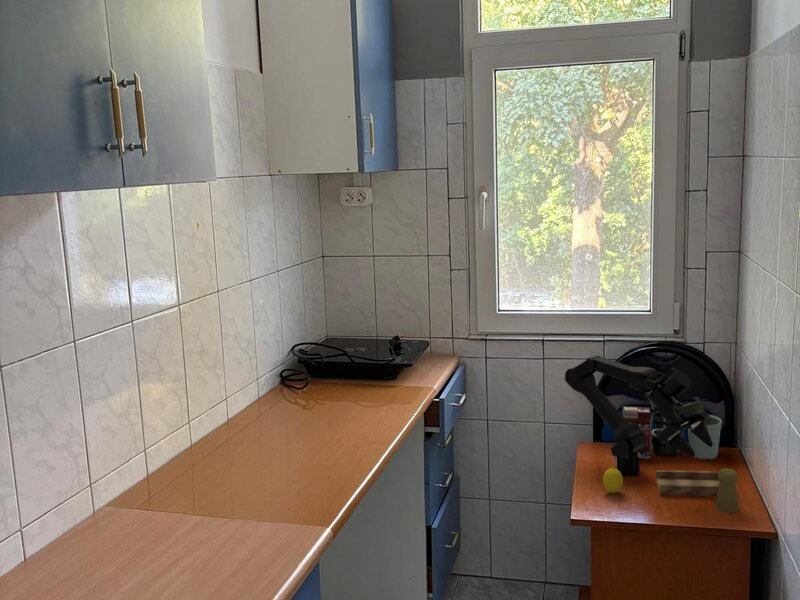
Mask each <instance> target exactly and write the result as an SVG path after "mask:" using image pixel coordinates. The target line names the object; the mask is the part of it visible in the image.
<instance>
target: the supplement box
mask: <svg viewBox="0 0 800 600" xmlns="http://www.w3.org/2000/svg"><path fill="white" fill-rule="evenodd" d="M651 414H652V412H651V407H639V406H637V407H636V406H622V417H623V418H624V419H625V421H627V422H629V423H633V422H636V423H637V424H638V426H639V427H640V428H641V429H642V430H643V431H644V432H643V433H644V434H645V436H646V444H645V446H644V447H642V450H641V451H640V452H637V454H638V456H639V459H648V458H649V459H651V453H650V432H651ZM649 459H648V460H649Z"/></svg>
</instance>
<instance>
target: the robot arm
mask: <svg viewBox="0 0 800 600" xmlns="http://www.w3.org/2000/svg"><path fill="white" fill-rule="evenodd" d="M596 372H598V373H601V374H604V375H607V376H610V377H613V378H615V379H619V380H622V381H624V382H626V383H627V384H628V385H629V386H630V387H631V388H633V389H635V390H637V391H638V392H639V391H640V392H643V403H645V404H646V403H648V402H650V401H651V402H652V403H653V405H654V406H655V407H656V408H657V410H658V411H659V412H660V414H661V415H660V416H659V417H660V419H662V418H663V420H664V419H665V421H667V422H668V424H669V425H668V426H666V425H665V428H664V427H663V428H664V429H663V430H662V431H661V432H659V433H658V440H659V441H660V442H661V443H664V442H666V441H667V442H666V443H665V444H666V445H667V444H668V445H670V446H673V447H675V448H677V449H679V450H680V452H682V453H685V454H687V455H689V456H691V457H692V458H694V457H693V456H695V453H694V451H693V449H692V448H691V446H690V445H689V441H688V440H686V438H685V431H684V430H685V429H687V428H690V429H692V428H693V429H692V430H691V432H692V433H693V434H694V435H695V436H697V437H698V438H699V439H700V440H702V441H703V442H704V443H705V444H706V445H708V446H709V447H712V446H713V443H712V440H711V438H710V435H709V433H708V430H707V421H708V417H709V415H710V414H709V413H708V412H707V410H704V408H703V407H704V406H705V403H704V401H702V399H700V397H699V396H696V397H693V398H691V399H690V402H689V403H687V404H684V402H682V401H679V402H678V403H677V401H678V400H677V399H675V398H679V396H680V395H682V394H683V393H684V392H685V391H686V390H687V389H688V388H689V387H690V386H691V385H692V380H691V378H690V376H689V375H688V374H687V373H685V372H684V371H682V370H678V369H677V367H672V368H670V369H669V370H668V371H667V372H666V374H664V373H662V372H658V371H657V370H656V369H655V368H653V367H648V366H631V365H627V364H624V363H621V362H617V361H615V360H612V359H610V358H605V357H602V356H601V355H599V354H596V355H593V356H591V357H587V359H586V360H584V361H583V362H582V363H580V364H578V365H577V366H573V367H571V368H568V369H567V370H566V371H565V374H564V380H565V381H564V382H565V383H566V385H568V386H569V387H570V388H571V389H572V390H573V391H575V392H577V393H580V394H581V395H583V396H584V397H585V398H586V399H587V401H588V402H589V403H590V404H591V406H592V407H593V408H594V409H595V411H596V412H597V413H598V414H599V415H600V417H601V418H602V419H603V420H604V421H605V423H606V424H607V425H608V426H609V427H610V429H611V430H612V434H613V437H614V441H615V443H616V444H615V445H613V446H612V447H611V448H610V452H611V455H612V456H614V457H615V467H614V468H615V469H617V470H619V471H620V472H621V474H622V477H639V473H640V472H641V471H640V470H641V463H640V462H641V460H640V459H641V458H639V456H638V454H637V452H640V451H641V450H642V447H644V446H645V444H646V436H645V434H644V433H643V432H644V431H643V430H642V429H641V428H640V427H639V426H638V424H637V423H636V422H633V423H629V422H627V421H625V419H624V418H623V415H621V414H620V412H619V411H618V410H617V409H616V408H615V406H614V405H613V404H612V402H610V400H609V399H608V397H606V395H605V394H604V393H603V391H601V389H600V388H599V387H598V385H597V381H596V377H595V373H596ZM658 385H660V386H658ZM650 389H651V390H650ZM647 390H650V391H647ZM645 391H646V392H645ZM676 400H677V401H676ZM706 418H707V419H706Z"/></svg>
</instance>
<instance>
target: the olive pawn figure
mask: <svg viewBox="0 0 800 600" xmlns="http://www.w3.org/2000/svg"><path fill="white" fill-rule="evenodd" d="M717 472H718V480H719V481H720V483H719V488H718V494H717V497H716V500H715V506H716V507H715V509H716V510H717V511H719V512H721V513H727V514H734V513H737V512H739V510H740V506H739V499H738V498H739V497H738V491H737V482H738V480H739V475H738V473H737V471H735V470H734V469H730V468H722V469H720V470H719V471H717Z"/></svg>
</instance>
